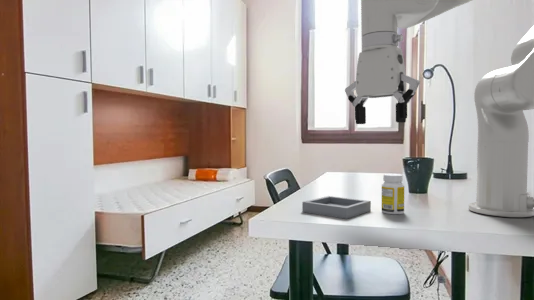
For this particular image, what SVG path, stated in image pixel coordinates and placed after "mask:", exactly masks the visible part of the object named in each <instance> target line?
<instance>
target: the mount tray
mask: <svg viewBox="0 0 534 300" xmlns="http://www.w3.org/2000/svg"><path fill="white" fill-rule="evenodd" d="M371 205H372V203H371V200H365V199H356V198H348V197H339V196H333V195H327V196H323V197H318V198H314V199H309V200H305V201H302V209H301V210H302V213H307V214H314V215H320V216H321V215H322V216H327V217H334V218H340V219H344V220H345V219H346V220H347V219H350V218H351V219H352V218H354V217H357V216H360V215H363V214H365V213H368V212H371V211H372V210H371V208H372V207H371Z"/></svg>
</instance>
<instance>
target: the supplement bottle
mask: <svg viewBox="0 0 534 300" xmlns="http://www.w3.org/2000/svg"><path fill="white" fill-rule="evenodd" d="M382 177H383V182H382V183H381V212H382V213H383V214H387V215H403V214H404V213H405V184H404V183H402V182H403V180H404V179H403V174H398V173H384V174H383V176H382Z"/></svg>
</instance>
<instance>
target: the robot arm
mask: <svg viewBox="0 0 534 300" xmlns="http://www.w3.org/2000/svg"><path fill="white" fill-rule="evenodd" d="M471 1H473V0H360V5H361V6H360V7H361V9H360V10H361V11H360V15H361V16H360V18H361V22H360V23H361V52H359V54H358V58H357V59H358V60H357V63H356V72H355V73H356V74H355V75H356V76H355V81H354V82H352V83H351V84H350V85H348V86H347V87H345V89H344V93H345V94H346V96H347V100H348V101H349V102H350V103H351V105H352V107H354V120H355V124H356V125H365V124H366V123H367V122H366V121H367V118H366V117H367V116H366V106H364V105H365V103H366V102H367V101H368V99H379V98H388V97H394V98H395V99H396V100H397V102H396V103H395V122H396V123H400V124H401V123H402V124H403V123H406V122H407V119H408V104H409V103H410V100H411V99H412V98H413V97H414V96H415V95H416V91H417V90H418V88H419V86H420V83H421V81H420V80H419V79H416V78H415V77H411V76H409V75H407V72H406V65H405V59H404V54H403V53H404V52H403V50H402V48H401V47H398V46H399V42H403V41H404V36H403V34H399V33H398V28H399V29H408V28H411V27H414V26H416V25H419V24H421V23H424V22H426V21H428V20H431V19H433V18H435V17H438V16H440V15H442V14H444V13H447V12H449V11H451V10H453V9H455V8H457V7H460V6H462V5H465V4H468V3H469V2H471ZM510 63H511V65H509V66H505V67H502V68H498V69H494V70H493V71H492V70H491V71H490V72H488V73H486V74H485V75H484V76H482V77H481V78H480V80H479V81H478V82H477V83H476V85H475V89H474V93H473V94H474V98H473V99H474V105H475V110H476V111H475V112H476V116H477V118H476V119H477V147H476V148H477V153H476V155H477V156H476V157H477V158H476V193H475V194H476V198H475V199H476V200H475V202H471V203H469V204H468V209H469V211H471V212H474V213H477V214H481V215H485V216H486V215H487V216H494V217H504V218H530V217H534V196H533V197H532V196H531V192H530V191H528V166H529V165H528V163H529V162H528V160H529V159H528V157H529V142H530V141H529V138H530V137H529V136H530V135H529V134H530V133H529V131H530V130H529V126H528V122H527V118H526V116H525V113H524V111H532V110H534V25H533V26H532V27H531V28H530V29H529V30H528V31H527V32H526V33H525V35H524V36H523V37H522V38H521V39H520V40H519V41H518V42H517V43H516V45H515V46H514V48H513V49H512V52H511V56H510ZM407 84H408V85H409V86H408V89H407ZM355 91H356V95H355Z"/></svg>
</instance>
